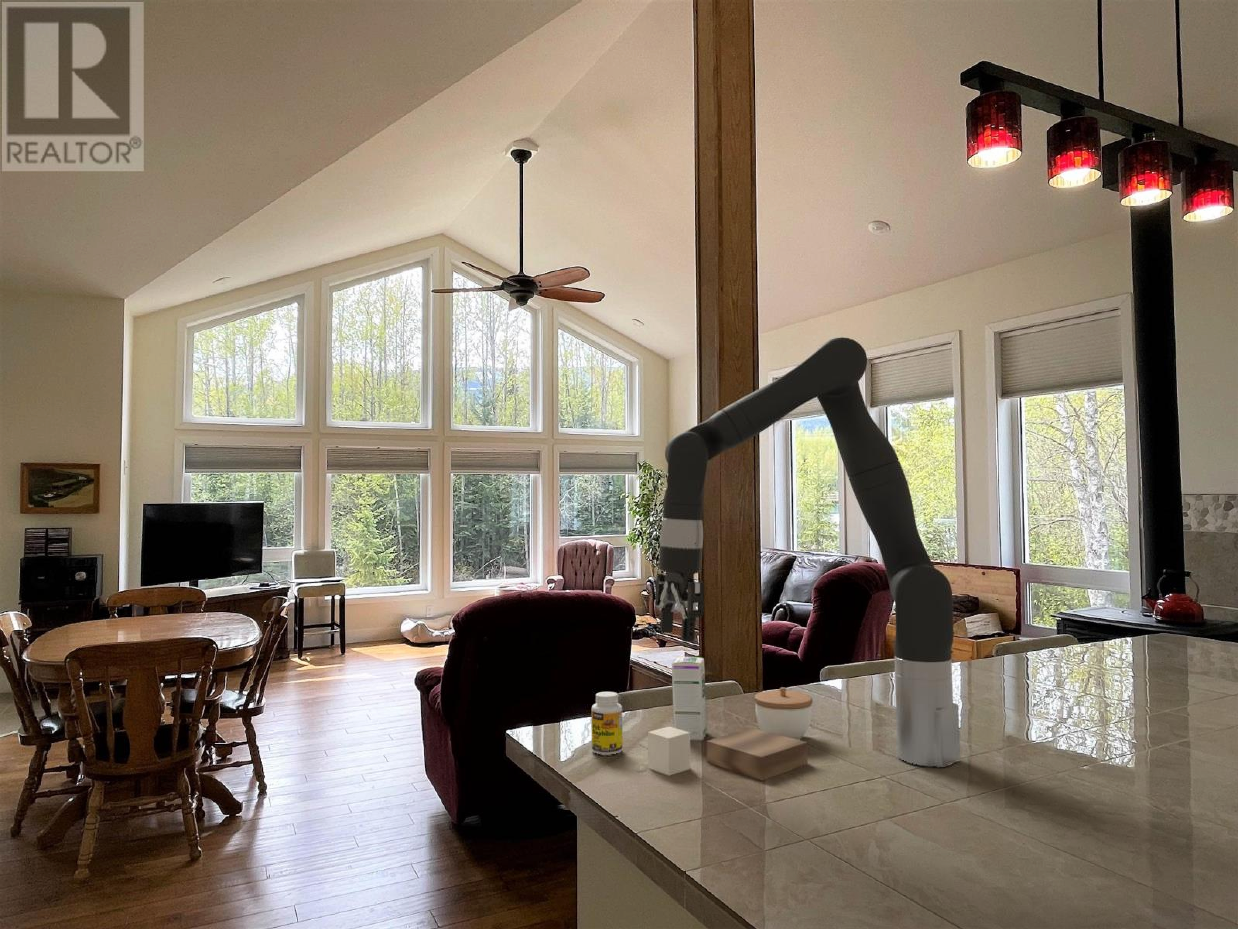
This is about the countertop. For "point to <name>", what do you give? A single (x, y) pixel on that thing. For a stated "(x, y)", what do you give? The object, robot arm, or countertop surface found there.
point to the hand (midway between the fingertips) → (676, 636)
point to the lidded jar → (784, 712)
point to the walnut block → (757, 753)
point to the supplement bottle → (606, 724)
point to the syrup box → (689, 696)
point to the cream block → (669, 750)
